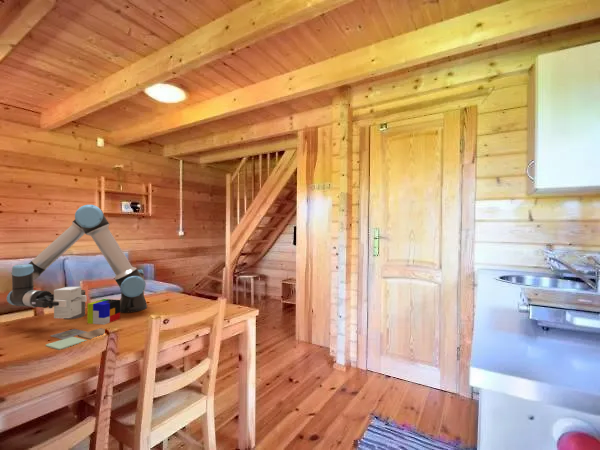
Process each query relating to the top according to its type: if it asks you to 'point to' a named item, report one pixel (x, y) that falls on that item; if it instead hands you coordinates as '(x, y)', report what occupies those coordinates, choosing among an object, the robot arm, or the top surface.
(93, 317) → the puzzle toy
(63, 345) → the sage pad
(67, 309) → the supplement box
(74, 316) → the pillar candle
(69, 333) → the tile
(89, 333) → the walnut pad
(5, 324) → the top surface
